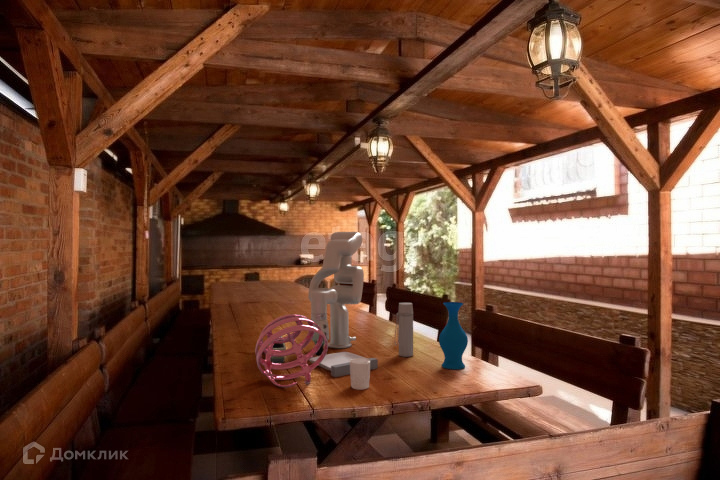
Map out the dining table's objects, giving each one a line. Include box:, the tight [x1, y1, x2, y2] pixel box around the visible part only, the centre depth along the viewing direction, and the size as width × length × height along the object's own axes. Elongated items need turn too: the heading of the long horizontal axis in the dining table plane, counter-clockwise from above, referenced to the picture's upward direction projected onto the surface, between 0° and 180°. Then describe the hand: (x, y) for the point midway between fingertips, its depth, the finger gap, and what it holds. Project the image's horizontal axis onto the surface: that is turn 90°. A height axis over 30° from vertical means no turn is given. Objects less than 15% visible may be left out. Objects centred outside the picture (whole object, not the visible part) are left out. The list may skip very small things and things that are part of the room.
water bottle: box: [394, 302, 414, 358], centre depth 226 cm, size 9×8×25 cm
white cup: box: [349, 357, 371, 391], centre depth 179 cm, size 8×8×10 cm
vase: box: [438, 301, 469, 371], centre depth 206 cm, size 12×13×28 cm
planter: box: [268, 336, 287, 364], centre depth 225 cm, size 28×7×7 cm, turn 14°
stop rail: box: [330, 357, 379, 378], centre depth 199 cm, size 22×3×4 cm, turn 126°
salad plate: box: [308, 351, 369, 372], centre depth 209 cm, size 21×21×3 cm
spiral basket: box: [254, 313, 329, 389], centre depth 183 cm, size 28×28×27 cm
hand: (319, 355), depth 223 cm, fingers closed
